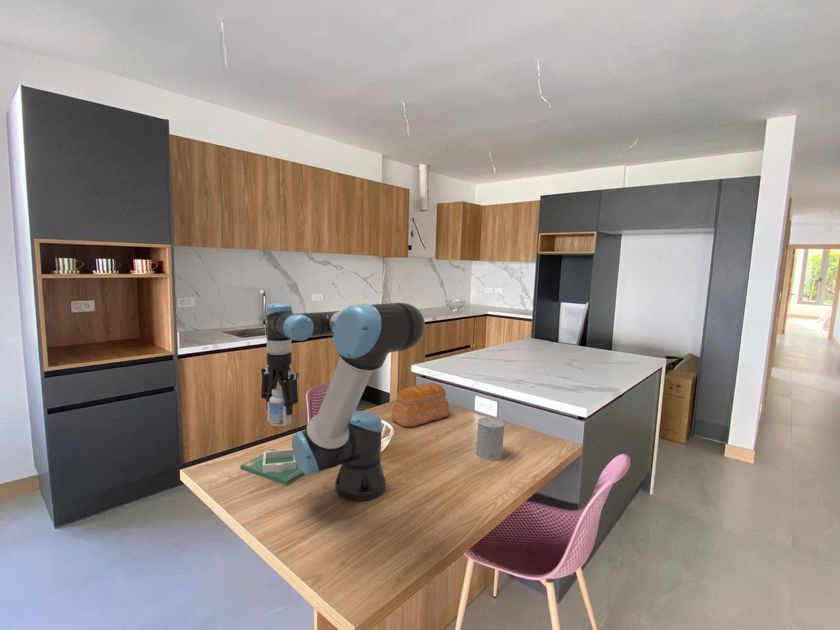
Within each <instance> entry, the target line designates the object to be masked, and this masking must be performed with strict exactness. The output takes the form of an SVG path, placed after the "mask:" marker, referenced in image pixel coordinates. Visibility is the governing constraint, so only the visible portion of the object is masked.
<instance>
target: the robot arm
mask: <svg viewBox="0 0 840 630" xmlns="http://www.w3.org/2000/svg"><path fill="white" fill-rule="evenodd" d="M265 318H266V352H267V353H266V364H267V365H268V367H264V368H261V369H260V373H261V389H260V391H261V392H260V393H261V395H260V397H261V399H264V400H265V404H266V405H265V406H266V410H267V422H269V401H270V398H271V397H272V396H273V395H272V389H275V388H278V385H279V386H280V388H282V392H283V396H284V401H285V405H284V406H283V426H284V427H286V426H288V425H291V424H292V415H293V411H294V410H293V405H295V404H297V403H298V402H299V396H298V395H299V394H298V393H299V392H298V377H299V372H293V371H292V370H291V364H292V362H293V361H292V359H293V357H292V355H293V353H292V340H293V341H299V342H303V341H306V340H308V339H309V338H316V337H325V336H326V337H327V336H332V339H333V340H332V341H333V344H334V347H335V350H336V352H337V355H338V357H339V359H338V361H337V365H336V367H335V369H334V371H333V374H332V377H331V379H330V382H329V384H328V387H327V390H326V393H325V395H324V396H323V399H322V402H321V405H320V407H319V410H318V412H317V414H316V415H314V416H312V417H311V418H310V419H309V421H308V422H307V425H306V427H305V430H303V431H298V432H295V433H294V434H293V436H292V438H291V449H292V450H293V455H294V458H295V461H296V463H297V465H298V467H299V469H300V470H301V471H302V472H303V473H304V475H307V476H311V475H314V474H319V473H321V472H324V471H327V470H330V469H332V468H335V467H338V466H340V467H339V470H338V474H337V476H336V479H335V481H334V482H335V483H334V484H335V485H334V486H335V487H334V491H335V493H336V494H337V496H339V497H341V498H342V499H345V500H347V501H353V502H364V501H365V502H366V501H370V500H374V499H376V498H378V497H380V496H381V495H383V494H384V492H385V491H386V485H387V484H386V482H387V481H386V480H387V479H386V477H385V474H384V470H383V467H382V464H381V463H382V462H381V455H382V451H381V450H382V433H383V430H382V429H383V428H382V419H381V417H380V416H379V415H377V414H375V413H372V412H369V411H363V410H356V409H357V408H358V407H357V406H358V405H359V403H360V400H361V397H362V396H363V394H364V392H365V390H366V388H367V385H368V383H369V381H370V379H371V376H372V374H373V373H374V371H377V370H379V369H381V367H382V366H383V365H384V363H385V360H386V359H387V357H388V354H390V353H395V352H401V351H405V350H409V349H412V348H413V347H415V346H417V345H418V343H419V342H420V341H421V340H422V338H423V337H424V334H425V330H426V321H425V319H424V316H423V314H422V313H421V311H420V310H419V309H418V308H417V307H416V306H414V305H412V304H409V303H405V302H395V303H394V302H393V303H390V302H389V303H378V304H377V303H375V304H374V303H372V304H370V303H359V304H354V305H349V306H347V307H345V308H344V309H342V310H334V311H322V312H321V311H319V312H302V313H301V312H300V313H297V312H296V313H293V308H292V305H291V304H289V303H281V302H280V303H278V302H277V303H276V302H275V303H269V304H268V305H267V306H266V315H265Z"/></svg>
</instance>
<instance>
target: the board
mask: <svg viewBox="0 0 840 630" xmlns="http://www.w3.org/2000/svg"><path fill="white" fill-rule="evenodd" d="M240 470H243V471H246V472H249V473H252V474H255V475H258V476H261V477H263V478H266V479H269V480H272V481H275V482H277V483H281V484H282V485H286V486H288V485H289V484H292V482H294V481H296V480H298V479H300V478H301V477H303V476H304V475H305V474H304V473H303V472H302V471H301V470H300V469H299V467H298V465H297V463H296V461H295V458H294V455H293V450H292V448H288V449H280V450H279V449H278V450H277V449H274V448H273V449H270V450H269V451H263V453H262V454H260V455H258V456H256V457H254V458H252V459H250V460H248V461H246V462H244V463H242V464H240Z"/></svg>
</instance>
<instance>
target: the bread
mask: <svg viewBox="0 0 840 630" xmlns="http://www.w3.org/2000/svg"><path fill="white" fill-rule="evenodd" d="M446 396H447V395H446V390H445V388H444V387H443V386H442V385H440V384H437V383H434V382H428V383H425V384H424V383H423V384H416V385H413V386H410V387H405V388H402V389H401V390H400V391H399V392H398V393H397V396H396V402H395V403H394V405H393V408H392V411H391V418H392V422H394V423H395V422H396V424H398V425H399V426H402V427H404V428H405V427H407V428H411V427H412V428H413V427H416V426H418V425H424V424H426V423H429V422H431V421H438V420H441V419H443V417H444V418H446V417H448V415H449V414H450V407H449V403H448V400H447V398H446Z"/></svg>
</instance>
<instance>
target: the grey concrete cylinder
mask: <svg viewBox="0 0 840 630" xmlns="http://www.w3.org/2000/svg"><path fill="white" fill-rule="evenodd" d="M504 433H505V422H504V421H503V420H501V419H500V418H499V419H498V418H496V417H481V418H479V419H478V420H477V433H476V435H477V436H476V450H475V451H476V452H475V454H477V455H476V456H477V457H478V456H479V457H478V458H480V459H482V458H483V459H482V460H485V459H486V461H491V460H493V461H499V460H501V459H502V458H503V449H504Z"/></svg>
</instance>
